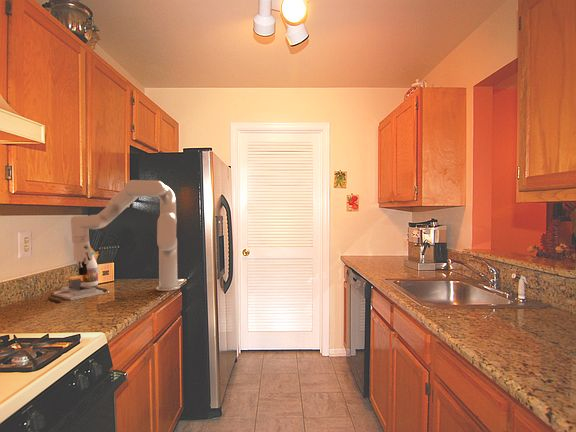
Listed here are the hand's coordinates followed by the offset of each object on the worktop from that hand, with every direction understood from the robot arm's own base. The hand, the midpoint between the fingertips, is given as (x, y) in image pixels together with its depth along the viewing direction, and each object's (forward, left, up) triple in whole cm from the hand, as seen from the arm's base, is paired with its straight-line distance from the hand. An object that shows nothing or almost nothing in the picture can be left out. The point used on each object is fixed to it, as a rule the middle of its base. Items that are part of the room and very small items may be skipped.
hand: (83, 274), depth 163 cm
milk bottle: (-12, -20, -11) cm, 26 cm away
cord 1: (+13, 0, -11) cm, 17 cm away
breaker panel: (+1, -4, -11) cm, 11 cm away
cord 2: (-10, -4, -11) cm, 15 cm away
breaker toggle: (+1, -8, -9) cm, 12 cm away
